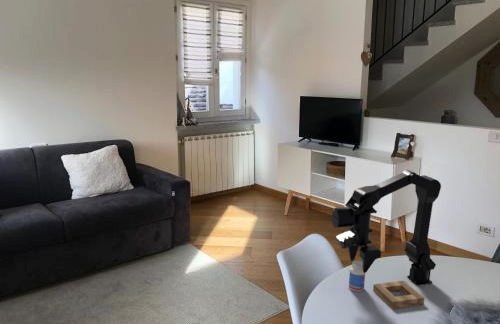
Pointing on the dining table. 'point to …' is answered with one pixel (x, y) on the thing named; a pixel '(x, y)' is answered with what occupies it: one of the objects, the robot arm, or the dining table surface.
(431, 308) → the dining table surface
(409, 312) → the dining table surface
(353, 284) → the pill bottle
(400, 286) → the socket block
